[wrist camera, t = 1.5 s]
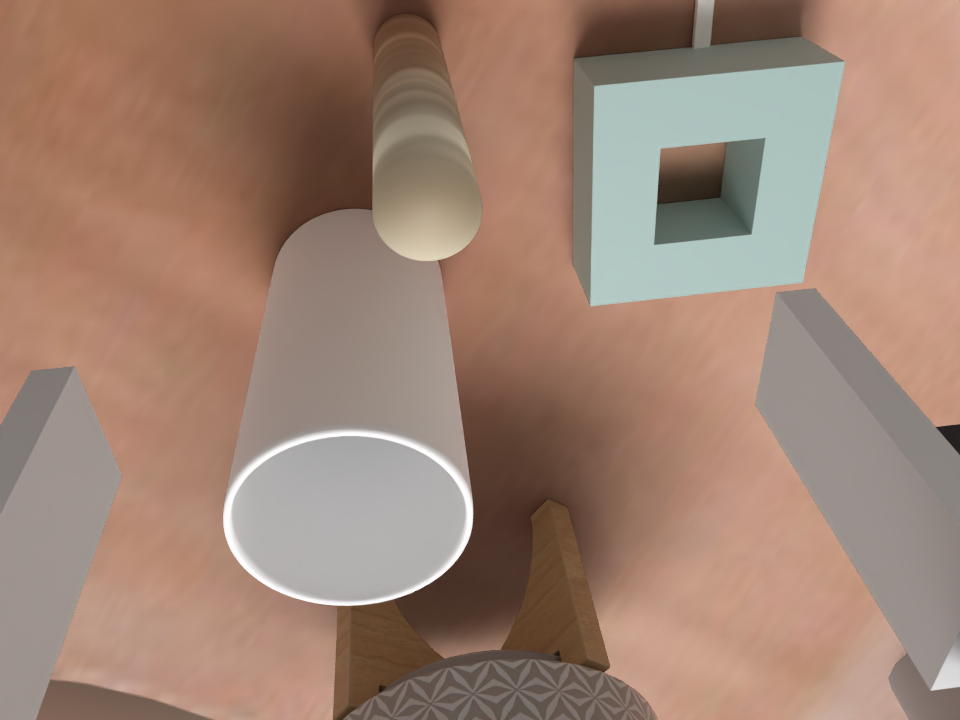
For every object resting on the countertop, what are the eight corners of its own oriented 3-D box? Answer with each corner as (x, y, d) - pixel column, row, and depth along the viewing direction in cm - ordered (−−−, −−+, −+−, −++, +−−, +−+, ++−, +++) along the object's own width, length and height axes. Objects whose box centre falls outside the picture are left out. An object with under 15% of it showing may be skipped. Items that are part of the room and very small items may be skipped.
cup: (312, 179, 36) (277, 395, 23) (471, 251, 39) (519, 478, 26) (248, 319, 40) (186, 572, 27) (397, 375, 43) (407, 628, 30)
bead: (573, 58, 35) (594, 86, 31) (801, 36, 35) (845, 61, 32) (572, 264, 40) (590, 306, 37) (768, 243, 41) (802, 282, 38)
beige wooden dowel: (368, 16, 33) (365, 165, 20) (437, 10, 33) (478, 153, 20) (378, 86, 34) (380, 266, 21) (443, 80, 34) (485, 255, 21)
